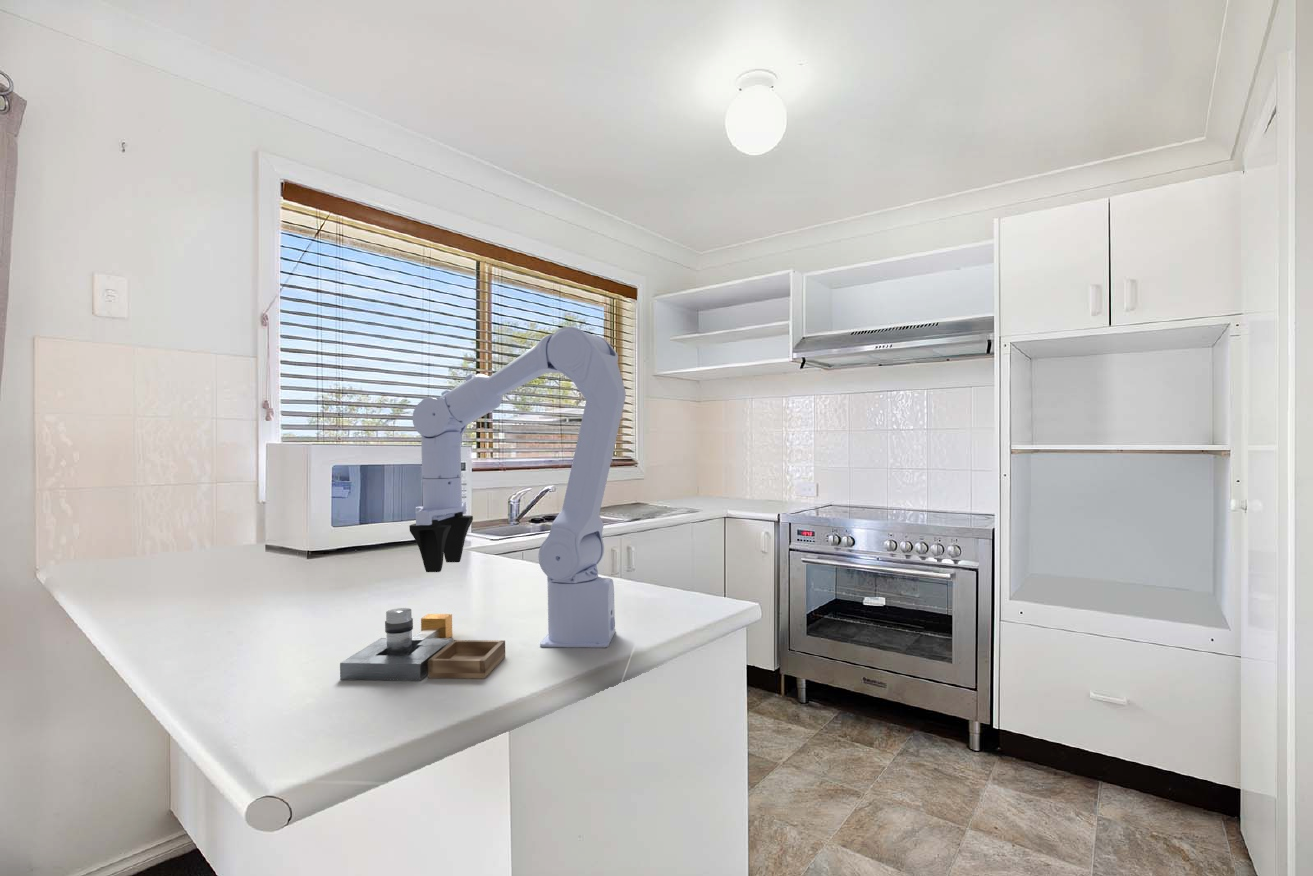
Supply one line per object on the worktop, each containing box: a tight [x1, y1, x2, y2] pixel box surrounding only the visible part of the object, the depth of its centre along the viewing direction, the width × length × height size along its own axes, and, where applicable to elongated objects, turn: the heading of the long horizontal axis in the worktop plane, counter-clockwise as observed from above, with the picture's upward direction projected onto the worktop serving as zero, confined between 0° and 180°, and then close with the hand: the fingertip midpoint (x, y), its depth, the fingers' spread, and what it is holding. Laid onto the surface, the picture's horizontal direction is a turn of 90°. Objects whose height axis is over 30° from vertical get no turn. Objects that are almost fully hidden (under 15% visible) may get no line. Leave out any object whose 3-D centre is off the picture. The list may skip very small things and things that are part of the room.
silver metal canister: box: [384, 607, 414, 656], centre depth 84 cm, size 3×3×7 cm
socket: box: [339, 637, 454, 682], centre depth 84 cm, size 10×10×2 cm
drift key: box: [412, 613, 453, 652], centre depth 93 cm, size 8×4×3 cm, turn 175°
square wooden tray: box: [427, 639, 506, 679], centre depth 83 cm, size 7×8×2 cm
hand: (443, 566), depth 101 cm, fingers open, 7 cm apart
